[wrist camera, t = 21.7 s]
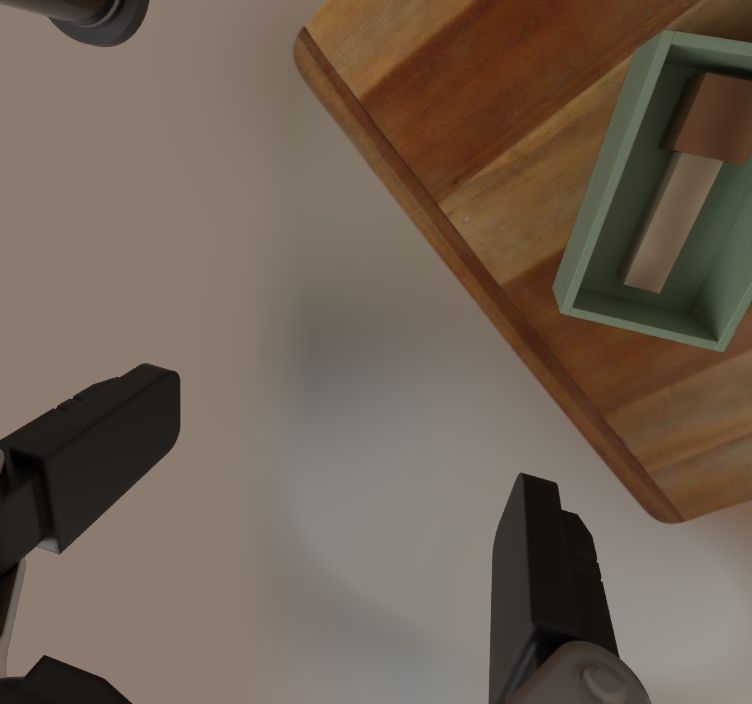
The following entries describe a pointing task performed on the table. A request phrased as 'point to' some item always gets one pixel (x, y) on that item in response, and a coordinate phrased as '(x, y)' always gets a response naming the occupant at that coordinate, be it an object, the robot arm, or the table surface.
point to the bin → (632, 193)
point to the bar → (689, 172)
